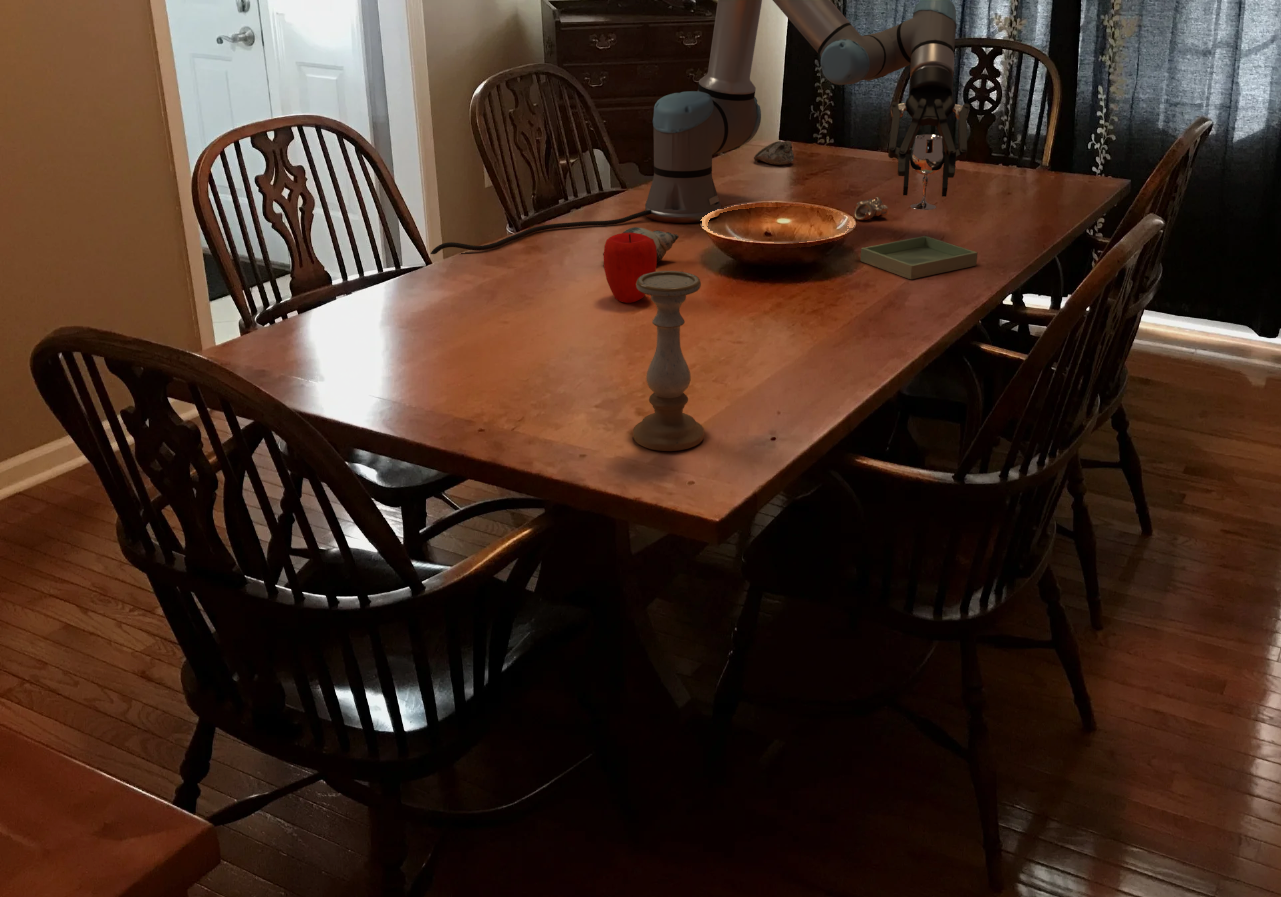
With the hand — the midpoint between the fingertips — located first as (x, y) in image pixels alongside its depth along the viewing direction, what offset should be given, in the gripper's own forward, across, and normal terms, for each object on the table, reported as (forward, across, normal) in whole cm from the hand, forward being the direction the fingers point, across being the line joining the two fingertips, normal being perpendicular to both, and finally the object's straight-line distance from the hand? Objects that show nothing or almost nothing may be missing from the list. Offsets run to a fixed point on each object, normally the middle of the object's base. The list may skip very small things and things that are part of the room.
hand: (925, 191), depth 215 cm
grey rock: (-49, +33, -68) cm, 90 cm away
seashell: (+12, +49, -7) cm, 51 cm away
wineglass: (0, 0, -5) cm, 5 cm away
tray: (+7, 0, -12) cm, 14 cm away
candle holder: (+65, +31, +45) cm, 85 cm away
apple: (+27, +46, +8) cm, 54 cm away
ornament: (-15, +9, -34) cm, 38 cm away
